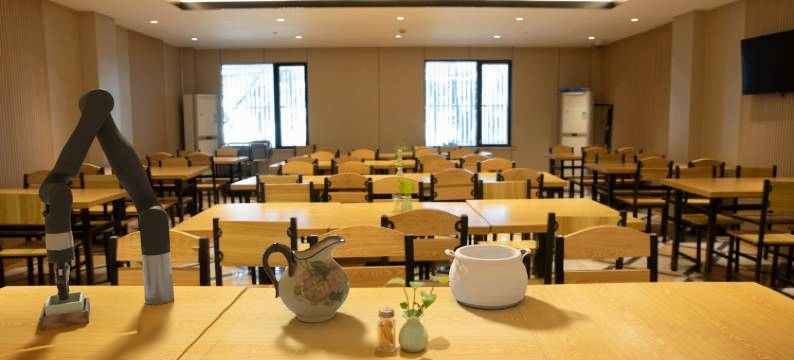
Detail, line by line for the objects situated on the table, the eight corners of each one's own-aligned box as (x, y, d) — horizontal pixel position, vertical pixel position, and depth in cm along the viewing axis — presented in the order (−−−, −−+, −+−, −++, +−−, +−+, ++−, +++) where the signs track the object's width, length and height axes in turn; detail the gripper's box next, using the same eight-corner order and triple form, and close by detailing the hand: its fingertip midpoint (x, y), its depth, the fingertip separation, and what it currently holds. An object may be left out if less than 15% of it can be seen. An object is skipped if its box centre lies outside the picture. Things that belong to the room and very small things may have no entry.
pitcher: (365, 313, 193) (362, 237, 190) (307, 335, 176) (302, 252, 173) (320, 299, 208) (316, 228, 205) (262, 319, 191) (258, 241, 188)
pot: (520, 286, 220) (521, 239, 217) (540, 311, 193) (541, 258, 191) (441, 288, 219) (440, 241, 216) (450, 313, 192) (450, 261, 190)
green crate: (84, 310, 199) (83, 291, 198) (83, 321, 188) (81, 301, 187) (50, 315, 195) (48, 295, 194) (46, 327, 184) (44, 306, 183)
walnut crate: (90, 310, 201) (89, 297, 200) (89, 324, 187) (87, 311, 187) (45, 316, 195) (44, 303, 195) (40, 332, 182) (39, 318, 181)
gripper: (48, 242, 193) (52, 291, 195) (44, 252, 180) (49, 304, 182) (74, 240, 196) (78, 288, 198) (72, 249, 183) (77, 300, 186)
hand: (64, 296), depth 190 cm, fingers open, 8 cm apart
